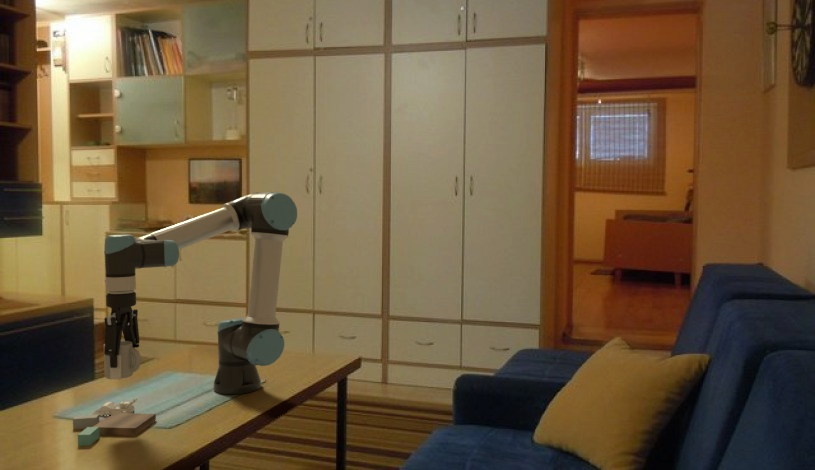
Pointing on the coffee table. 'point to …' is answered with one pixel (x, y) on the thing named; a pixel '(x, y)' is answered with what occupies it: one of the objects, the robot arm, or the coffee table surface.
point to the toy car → (115, 408)
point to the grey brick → (85, 421)
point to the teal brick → (88, 436)
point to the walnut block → (125, 423)
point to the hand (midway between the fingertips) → (123, 375)
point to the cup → (124, 360)
